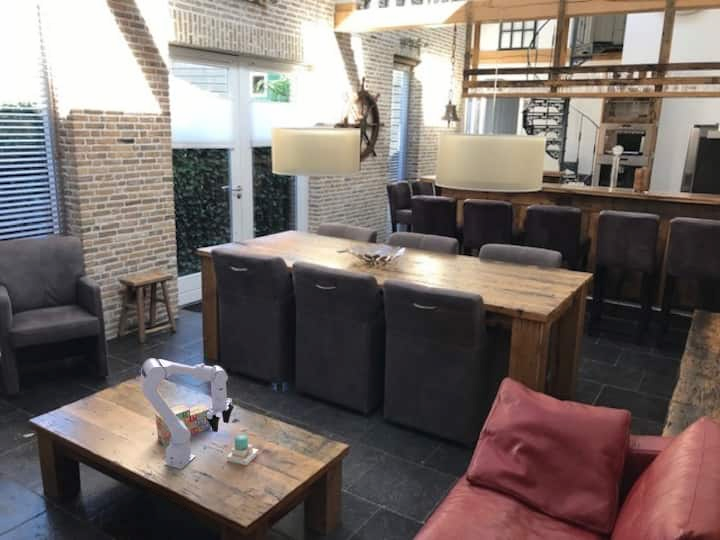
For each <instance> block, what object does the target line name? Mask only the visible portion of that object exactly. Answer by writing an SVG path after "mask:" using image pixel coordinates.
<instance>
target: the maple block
mask: <svg viewBox="0 0 720 540" xmlns="http://www.w3.org/2000/svg"><path fill="white" fill-rule="evenodd" d="M253 448H254V446H253V444H249V443H248V448H247V449H245V450H242V451H239V450H236V449H235V446H234V447H233V448H231V452H232V455H233V456H237V457H240V458H244V459H245V458H246V457H247V456H248V455H249V454H250V453H251V452H252V451H253Z"/></svg>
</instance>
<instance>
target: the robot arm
mask: <svg viewBox="0 0 720 540" xmlns="http://www.w3.org/2000/svg"><path fill="white" fill-rule="evenodd" d="M140 374H141V378H140V382H141V383H140V387H141V391H142V393H143V395H144V396H145V398H146V399H147V400H148V402H149V403H150V404H151V406H152V407H153V408H154V410H155V411H156V413H158V414H159V415H160V416H161V418H162V419H163V420H164V422H165V423H166V424H167V426H168V428H169V431H170V433H171V434H172V436H171V439H170V443H169V444H168V446H167V447H166V448H165V450H164V451H165V452H164V453H165V454H164V455H165V462H164V466H169V467H172V468H176V469H180V470H181V469H183V468H184V467H186V465H188V464H189V463H191V461H193V460H194V459H195V458H196V454H191V441H190V439H191V436H192V435H191V433H190V431H189V430H188V429H187V427H186V426H185V424H184V422H183V421H182V420H181V419H178V418H177V416H176V415H175V414H174V413H173V411H172V410H171V408H172V407H170V406H169V404H168V403H167V402H166V400H165V399H164V397H163V396H162V394H161V393H160V392H159V391H158V387H159V385H160V384H161V382H163V380H164V379H165V378H166V379H167V378H169V377H170V376H171V375H172V374H175V375H177V374H178V375H184V376H185V375H186V376H191V377H192V378H193V380H198V381H206V382H211V383H210V386H211V389H210V391H211V407H210V408H209V409H210V410H209V412H208V413H207V415H206V419H207V420H208V422H209V423H210V426H211V428H210V429H211V431H212V432H214V433H217V432H218V431H219V423H220V419H221V417H220V416H218V415H217V414H220V413H221V415H222V421H223V423H225V424H229V423H230V419H231V415H232V412H233V409H234V405H233V399H232V398H229V397H228V398H227V383H226V382H227V381H228V379H229V376H228V375H227V372H226V371H225V370H224V368H222V367H221V366H220V365H217V364H215V365H213V366H211V365H205V363H202V362H201V363H200V364H199V363H198V364H194V366H191V365H188V364H183V363H178V362H173V361H170V360H166V359H162V358H161V359H160V358H159V359H156V358H154V357H153V358H152V357H151V358H148V359H146V360H145V361H144V362H143V364H142V367H141V368H140Z"/></svg>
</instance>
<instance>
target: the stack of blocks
mask: <svg viewBox="0 0 720 540" xmlns="http://www.w3.org/2000/svg"><path fill="white" fill-rule="evenodd" d="M170 408H171V410H172V411H173V413H174V414H175V415H176V416H177V418H178V419H181V420H182V421H183V422H184V424H185V426H186V427H187V429H188V430H189V431H190V433H191V436H192V435H196V434H198V433H201V432H204V431H206V430H209V429H212V428H211V426H210V423H209V422H208V420H207V419H206V415H207V413H208V412H209V410H210V409H211V408H209V407H207V406H206V405H205V404H203V403H202V404H198V405H197V406H193V407H191V408H188V407H187V406H186V405H184V404H181V405H177V406H173V407H170ZM155 419H156V420H155V422H156V423H155V424H156V430H157V440H158V441H159V442H160V443H161V444H162V445H163V446H166V445H169V444H170V439H171V436H172V434H171V433H170V431H169V428H168V426H167V424H166V423H165V422H164V420H163V419H162V418H161V416H160V415H159V414H158V412H156V413H155Z"/></svg>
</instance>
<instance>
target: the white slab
mask: <svg viewBox="0 0 720 540" xmlns="http://www.w3.org/2000/svg"><path fill="white" fill-rule="evenodd" d="M259 452H260V451H259V449H258V448H254V447H253V451H252V452H251V453H250V454H249V455H248V456H247V457H246V458H245V459H244V458H240V457H237V456H233V455H232V451H231V452H230V453H228V455H226V461H228V462H231V463H235V464H239V465H243V466H248V465H249V464H250V463H251V462H252V461H253V459H255V458H256V457H257V455H259Z"/></svg>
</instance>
